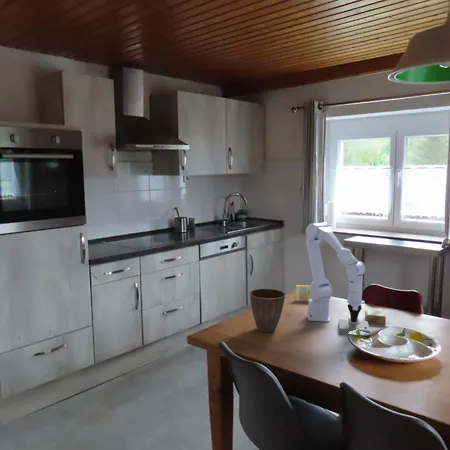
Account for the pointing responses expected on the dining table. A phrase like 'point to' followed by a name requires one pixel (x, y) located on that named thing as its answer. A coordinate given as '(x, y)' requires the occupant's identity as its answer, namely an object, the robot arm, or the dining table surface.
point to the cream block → (352, 322)
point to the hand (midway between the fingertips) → (353, 321)
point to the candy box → (303, 293)
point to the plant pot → (267, 308)
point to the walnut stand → (375, 317)
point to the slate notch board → (352, 326)
